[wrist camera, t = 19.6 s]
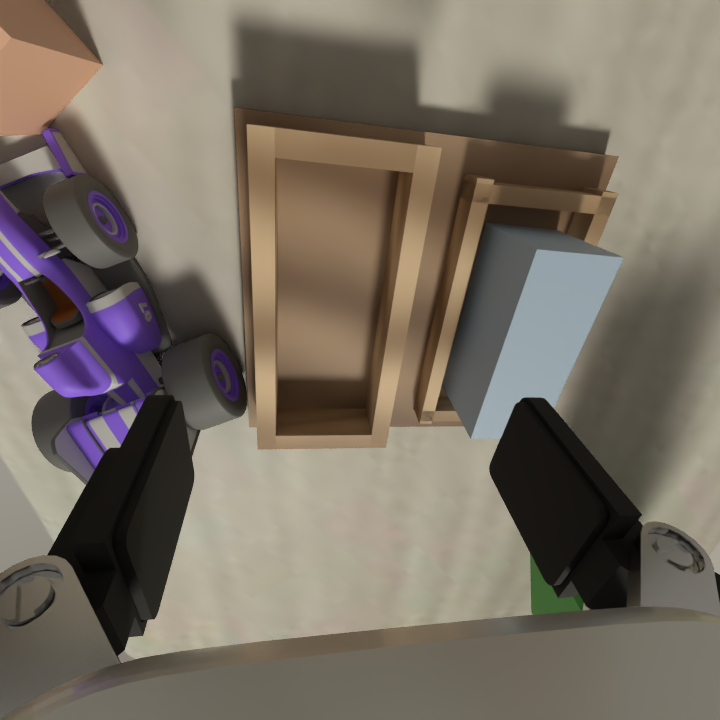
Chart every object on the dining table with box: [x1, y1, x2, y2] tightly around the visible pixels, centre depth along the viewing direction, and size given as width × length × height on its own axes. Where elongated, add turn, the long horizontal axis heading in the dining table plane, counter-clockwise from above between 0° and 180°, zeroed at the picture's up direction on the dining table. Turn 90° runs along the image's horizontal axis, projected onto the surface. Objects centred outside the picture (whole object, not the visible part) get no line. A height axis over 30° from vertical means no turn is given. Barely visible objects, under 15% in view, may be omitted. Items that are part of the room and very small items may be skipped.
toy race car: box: [0, 128, 247, 485], centre depth 18 cm, size 10×15×6 cm, turn 18°
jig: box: [234, 108, 619, 449], centre depth 21 cm, size 17×18×4 cm
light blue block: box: [442, 222, 623, 439], centre depth 21 cm, size 10×4×5 cm, turn 173°
